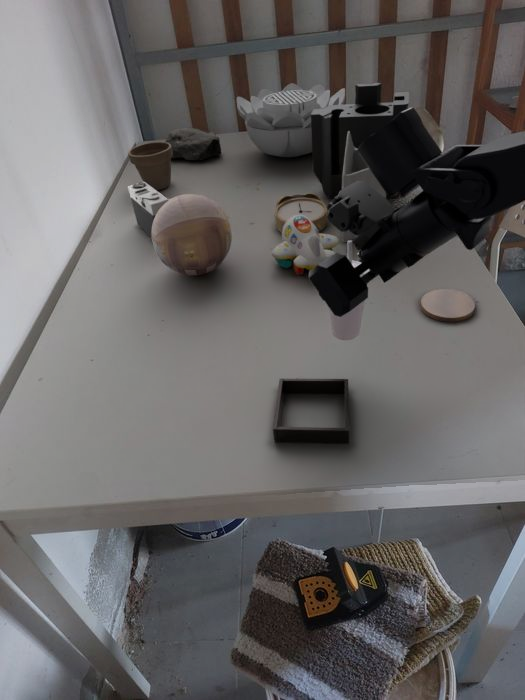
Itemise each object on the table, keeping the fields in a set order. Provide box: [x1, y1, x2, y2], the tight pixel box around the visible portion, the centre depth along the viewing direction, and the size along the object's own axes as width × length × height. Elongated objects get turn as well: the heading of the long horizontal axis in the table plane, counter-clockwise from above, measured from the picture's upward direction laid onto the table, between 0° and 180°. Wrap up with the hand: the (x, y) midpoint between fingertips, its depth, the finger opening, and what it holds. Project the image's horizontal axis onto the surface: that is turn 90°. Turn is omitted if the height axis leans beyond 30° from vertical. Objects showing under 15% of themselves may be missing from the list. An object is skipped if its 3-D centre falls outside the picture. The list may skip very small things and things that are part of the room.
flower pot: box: [127, 141, 173, 191], centre depth 137 cm, size 12×11×10 cm
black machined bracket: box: [311, 82, 410, 199], centre depth 118 cm, size 12×21×22 cm, turn 77°
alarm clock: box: [274, 192, 328, 233], centre depth 114 cm, size 11×5×15 cm
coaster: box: [420, 288, 476, 323], centre depth 85 cm, size 8×8×1 cm
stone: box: [165, 127, 222, 161], centre depth 153 cm, size 18×9×10 cm
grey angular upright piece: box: [341, 131, 387, 243], centre depth 104 cm, size 16×8×19 cm, turn 166°
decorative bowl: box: [236, 82, 346, 158], centre depth 146 cm, size 30×30×15 cm
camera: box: [127, 181, 171, 239], centre depth 115 cm, size 14×8×10 cm, turn 32°
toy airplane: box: [271, 215, 340, 275], centre depth 98 cm, size 13×9×15 cm
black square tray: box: [272, 378, 350, 445], centre depth 68 cm, size 9×9×2 cm
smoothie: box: [327, 240, 370, 341], centre depth 68 cm, size 6×6×14 cm
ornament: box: [151, 193, 233, 276], centre depth 98 cm, size 15×15×15 cm
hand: (337, 285), depth 69 cm, fingers closed on smoothie, 6 cm apart
